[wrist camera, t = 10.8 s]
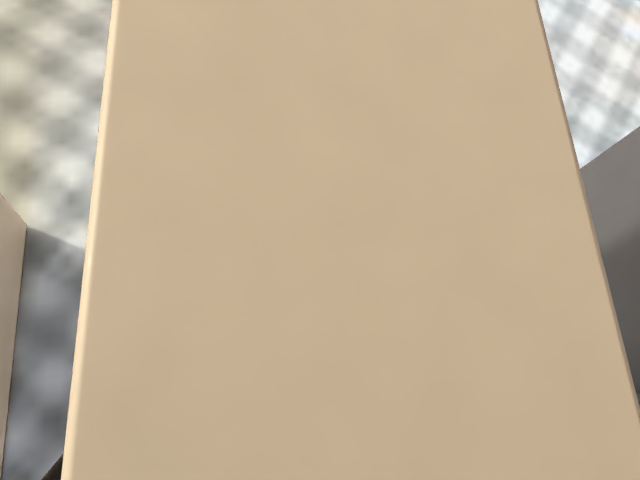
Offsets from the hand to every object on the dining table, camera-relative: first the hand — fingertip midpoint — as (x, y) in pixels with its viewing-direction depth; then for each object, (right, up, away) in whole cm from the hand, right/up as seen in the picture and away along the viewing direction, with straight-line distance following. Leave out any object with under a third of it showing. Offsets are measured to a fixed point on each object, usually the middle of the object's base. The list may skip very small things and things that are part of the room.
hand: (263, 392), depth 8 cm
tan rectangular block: (-2, -1, +8) cm, 9 cm away
